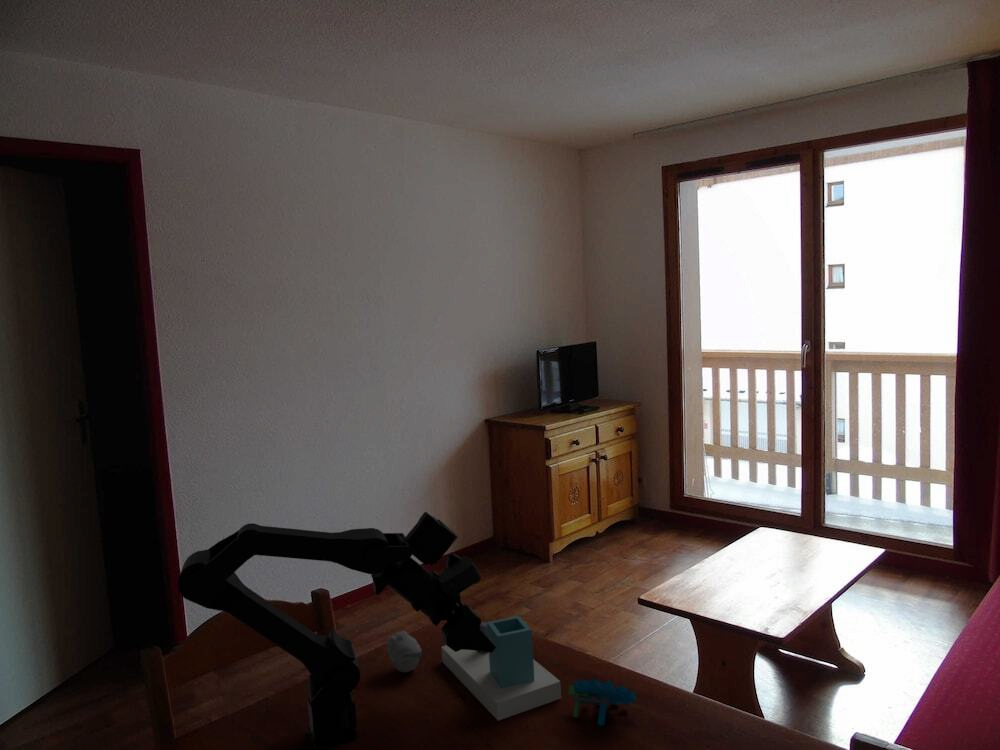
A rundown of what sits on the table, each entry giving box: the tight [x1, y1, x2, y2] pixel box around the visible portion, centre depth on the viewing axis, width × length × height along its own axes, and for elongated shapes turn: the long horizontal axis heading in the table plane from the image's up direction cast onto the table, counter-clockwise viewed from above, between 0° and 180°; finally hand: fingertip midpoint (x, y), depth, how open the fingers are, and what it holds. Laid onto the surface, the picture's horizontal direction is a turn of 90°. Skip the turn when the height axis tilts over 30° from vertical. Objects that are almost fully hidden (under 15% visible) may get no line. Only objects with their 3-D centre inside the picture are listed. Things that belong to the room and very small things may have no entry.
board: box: [441, 621, 562, 722], centre depth 127 cm, size 12×23×8 cm, turn 27°
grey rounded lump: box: [385, 630, 423, 673], centre depth 132 cm, size 6×7×7 cm
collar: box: [486, 615, 535, 688], centre depth 122 cm, size 6×6×9 cm
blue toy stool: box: [567, 678, 637, 727], centre depth 113 cm, size 11×6×10 cm
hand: (485, 637), depth 120 cm, fingers open, 9 cm apart
